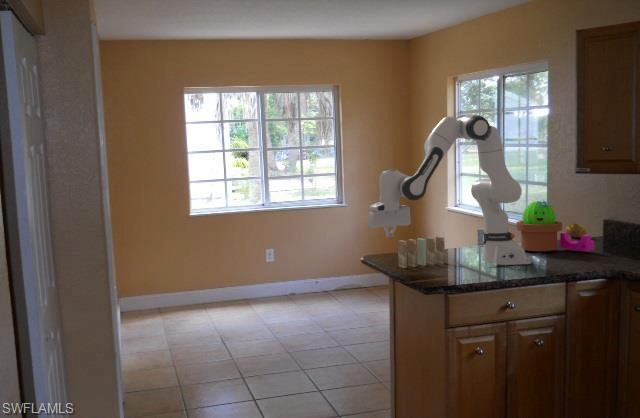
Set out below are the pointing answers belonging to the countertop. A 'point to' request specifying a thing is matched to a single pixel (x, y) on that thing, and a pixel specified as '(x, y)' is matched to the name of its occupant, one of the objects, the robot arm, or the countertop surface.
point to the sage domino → (421, 251)
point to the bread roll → (576, 230)
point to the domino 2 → (430, 250)
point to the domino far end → (402, 253)
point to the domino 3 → (440, 250)
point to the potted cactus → (539, 227)
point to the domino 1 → (412, 253)
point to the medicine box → (480, 236)
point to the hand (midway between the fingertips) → (389, 236)
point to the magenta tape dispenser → (576, 243)
